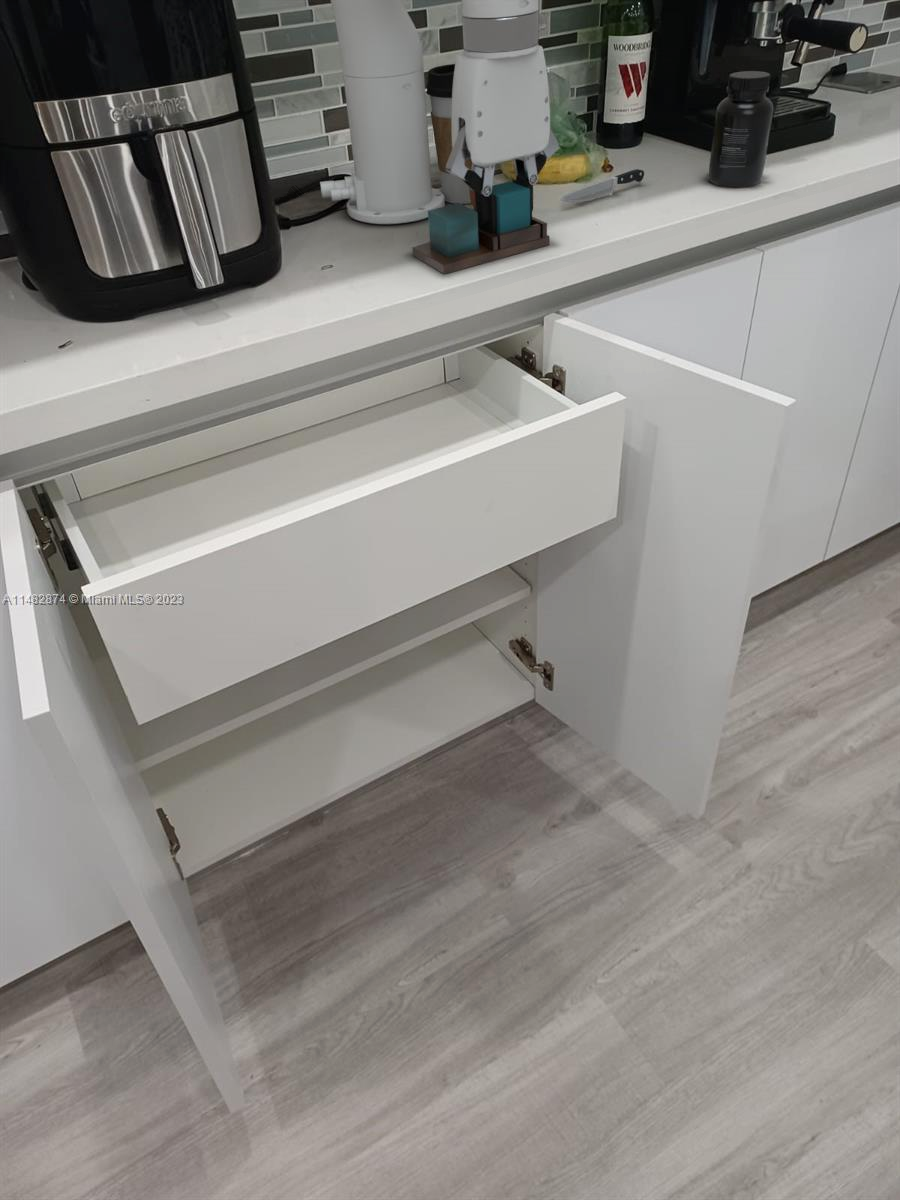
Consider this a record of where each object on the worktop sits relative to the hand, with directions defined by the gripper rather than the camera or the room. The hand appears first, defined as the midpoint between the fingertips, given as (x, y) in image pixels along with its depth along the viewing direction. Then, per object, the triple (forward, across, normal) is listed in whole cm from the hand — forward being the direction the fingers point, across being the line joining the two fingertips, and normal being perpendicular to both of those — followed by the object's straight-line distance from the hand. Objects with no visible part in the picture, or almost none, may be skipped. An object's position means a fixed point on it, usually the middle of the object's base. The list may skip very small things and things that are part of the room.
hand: (504, 223), depth 98 cm
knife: (+3, -19, -6) cm, 20 cm away
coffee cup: (+2, -6, -18) cm, 19 cm away
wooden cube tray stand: (+2, +3, 0) cm, 4 cm away
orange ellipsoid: (+2, -4, -12) cm, 13 cm away
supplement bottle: (+3, -36, -1) cm, 36 cm away
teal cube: (0, 0, 0) cm, 0 cm away
